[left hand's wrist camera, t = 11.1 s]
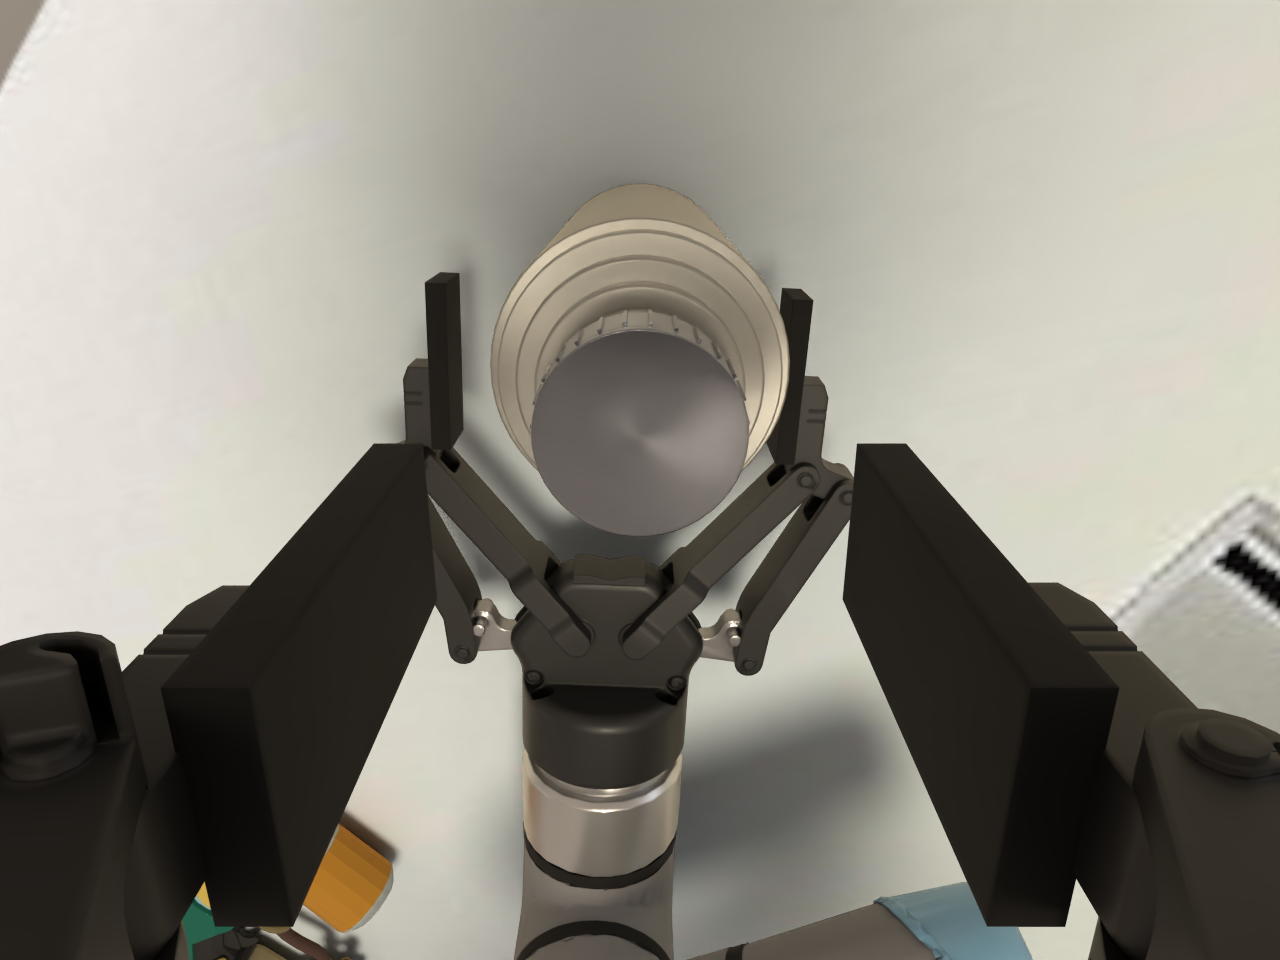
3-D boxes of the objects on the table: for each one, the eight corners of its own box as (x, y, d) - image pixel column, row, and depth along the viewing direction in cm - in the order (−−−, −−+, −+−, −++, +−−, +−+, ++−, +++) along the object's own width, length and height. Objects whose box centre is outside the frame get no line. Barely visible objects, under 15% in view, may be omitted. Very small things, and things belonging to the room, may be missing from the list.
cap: (738, 299, 19) (748, 317, 17) (745, 497, 21) (756, 531, 19) (526, 316, 19) (514, 335, 17) (550, 511, 21) (541, 546, 19)
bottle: (723, 176, 38) (827, 222, 17) (730, 354, 41) (828, 584, 20) (542, 191, 39) (424, 255, 17) (562, 367, 41) (480, 608, 20)
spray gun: (350, 1006, 57) (122, 921, 55) (441, 833, 50) (188, 731, 49) (324, 1073, 53) (79, 985, 51) (420, 895, 47) (143, 786, 45)
